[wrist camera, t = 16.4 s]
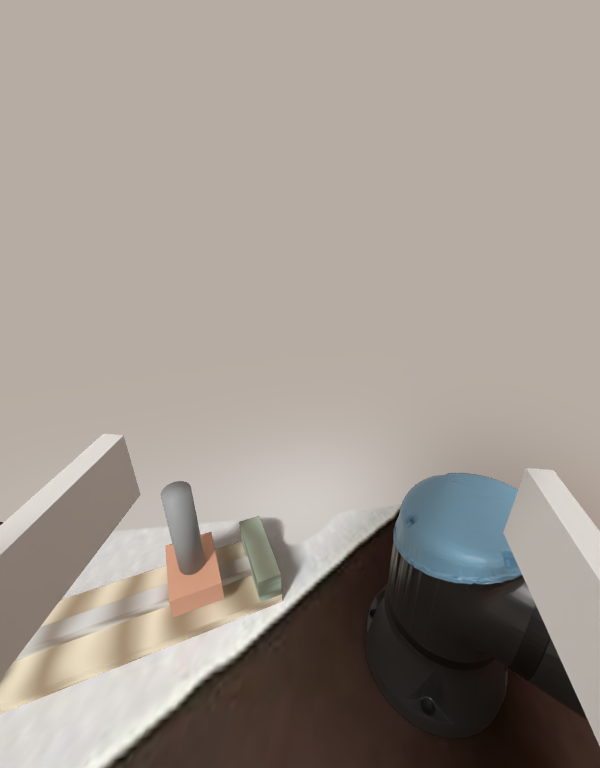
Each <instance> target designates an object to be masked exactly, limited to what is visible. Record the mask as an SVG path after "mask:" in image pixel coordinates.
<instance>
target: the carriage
mask: <svg viewBox="0 0 600 768" xmlns="http://www.w3.org/2000/svg"><path fill="white" fill-rule="evenodd" d="M161 499H162V503H163V507H164V511H165V515H166V519H167V523H168V527H169V531H170V535H171V539H172V543H173V544H170V545H167V546H165V547H166V563H167V579H168V595H169V604H170V607H171V611H172V614H173V617H176V616H179V615H181V614H184V613H187V612H189V611H192V610H195V609H197V608H200V607H203V606H205V605H208V604H211V603H213V602H216V601H219V600H221V599H224V593H223V588H222V582H221V577H220V572H219V567H218V563H217V558H216V553H215V548H214V543H213V539H212V534H211V532H209V533H205V534H202V535H200V531H199V526H198V521H197V516H196V511H195V506H194V501H193V496H192V491H191V486H190V485H189V484H188V483H187V482H182V481H178V482H173V483H171V484H169V485H167V486H166V487H165V488H164V489H163V490H162V492H161Z"/></svg>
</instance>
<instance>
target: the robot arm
mask: <svg viewBox="0 0 600 768" xmlns="http://www.w3.org/2000/svg"><path fill="white" fill-rule="evenodd" d="M139 496H140V492H139V488H138V485H137V482H136V478H135V475H134V471H133V467H132V464H131V460H130V457H129V453H128V450H127V446H126V443H125V439H124V436H123V435H111V434H103V435H102V436H101V437H99V438H98V439H97V440H96V441H95V442H94V443H93V444H92V445H90V446H89V447H88V448H87V449H86V450H85V451H84V452H83V453H81V454H80V455H79V456H78V457H77V458H76V459H75V460H74V461H72V462H71V463H70V464H69V465H68V466H67V467H66V468H65V469H63V470H62V471H61V472H60V473H59V474H58V475H57V476H56V477H54V478H53V479H52V480H51V481H50V482H49V483H48V484H47V485H46V486H44V487H43V488H42V489H41V490H40V491H39V492H38V493H37V494H35V495H34V496H33V497H32V498H31V499H30V500H29V501H28V502H26V503H25V504H24V505H23V506H22V507H21V508H20V509H18V510H17V511H16V512H15V513H14V514H13V515H12V516H11V517H9V518H8V519H7V520H6V521H5V522H4V523H3V522H0V679H1V678H2V677H3V675H4V674H5V673H6V671H7V670H8V669H9V667H10V666H11V665H12V664H13V662H14V661H15V660H16V658H17V657H18V656H19V654H20V653H21V652H22V650H23V649H24V648H25V646H26V645H27V644H28V642H29V641H30V640H31V638H32V637H33V636H34V634H35V633H36V632H37V631H38V629H39V628H40V627H41V625H42V624H43V623H44V621H45V620H46V619H47V617H48V616H49V615H50V613H51V612H52V611H53V609H54V608H55V607H56V605H57V604H58V603H59V601H60V600H61V599H62V597H63V596H64V595H65V594H66V592H67V591H68V590H69V588H70V587H71V586H72V584H73V583H74V582H75V580H76V579H77V578H78V576H79V575H80V574H81V572H82V571H83V570H84V568H85V567H86V566H87V564H88V563H89V562H90V561H91V559H92V558H93V557H94V555H95V554H96V553H97V551H98V550H99V549H100V547H101V546H102V545H103V543H104V542H105V541H106V539H107V538H108V537H109V535H110V534H111V533H112V531H113V530H114V529H115V527H116V526H117V525H118V524H119V522H120V521H121V520H122V518H123V517H124V516H125V514H126V513H127V512H128V510H129V509H130V508H131V506H132V505H133V504H134V502H135V501H136V500H137V498H138V497H139ZM393 539H394V542H393V549H392V556H391V563H390V570H389V577H388V582H387V584H386V585H385V586H384V587H383V588H382V589H381V590H380V592H379V593H378V594H377V595H376V597H375V598H374V600H373V601H372V603H371V606H370V608H369V611H368V614H367V618H366V625H365V634H364V645H365V653H366V658H367V662H368V665H369V668H370V671H371V674H372V676H373V678H374V680H375V682H376V684H377V686H378V688H379V689H380V691H381V692H382V694H383V695H384V697H385V698H386V699H387V701H388V702H389V703H390V704H391V705H392V707H393V708H394V709H395V710H396V711H397V712H398V713H399V714H401V715H402V716H403V717H404V718H405V719H407V720H408V721H409V722H411V723H412V724H413V725H415V726H417V727H418V728H420V729H422V730H424V731H426V732H428V733H431V734H434V735H437V736H440V737H445V738H456V739H457V738H466V737H470V736H473V735H476V734H478V733H480V732H482V731H483V730H484V729H486V728H487V727H488V726H489V725H490V724H491V723H492V722H493V720H494V719H495V717H496V716H497V714H498V712H499V710H500V708H501V706H502V704H503V702H504V699H505V696H506V691H507V685H508V668H509V669H511V670H512V671H514V672H515V673H517V674H518V675H520V676H521V677H523V678H524V679H526V680H527V681H529V682H530V683H532V684H533V685H535V686H536V687H538V688H539V689H541V690H542V691H544V692H545V693H547V694H548V695H550V696H551V697H553V698H554V699H556V700H557V701H559V702H560V703H562V704H563V705H565V706H566V707H568V708H569V709H571V710H572V711H574V712H575V713H577V714H578V715H580V716H581V717H583V718H584V719H586V720H587V721H589V724H590V726H591V728H592V730H593V732H594V735H595V737H596V739H597V741H598V743H599V746H600V531H599V530H598V528H597V527H596V526H595V524H594V523H593V522H592V520H591V519H590V518H589V516H588V515H587V514H586V512H585V511H584V510H583V508H582V507H581V506H580V505H579V503H578V502H577V500H576V499H575V498H574V496H573V495H572V494H571V492H570V491H569V490H568V489H567V487H566V486H565V485H564V483H563V482H562V481H561V479H560V478H559V477H558V475H557V474H556V473H555V471H554V470H544V469H533V468H526V470H525V472H524V475H523V478H522V481H521V484H520V486H519V489H516V488H514V487H512V486H510V485H508V484H506V483H504V482H501V481H498V480H496V479H493V478H489V477H486V476H481V475H476V474H468V473H448V474H446V475H442V476H433V477H430V478H427V479H425V480H423V481H421V482H419V483H418V484H416V485H415V486H414V487H413V488H412V489H411V490H410V491H409V492H408V494H407V495H406V496H405V498H404V500H403V502H402V505H401V509H400V513H399V517H398V519H397V521H396V523H395V528H394V537H393ZM507 667H508V668H507Z"/></svg>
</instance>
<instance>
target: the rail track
mask: <svg viewBox="0 0 600 768" xmlns="http://www.w3.org/2000/svg"><path fill="white" fill-rule="evenodd" d="M239 524H240V532H241V540H242V541H240V542H237V543H234V544H231V545H228V546H225V547H222V548H219V549H216V550H215V553H216V558H217V563H218V567H219V572H220V577H221V582H222V588H223V593H224V599H221V600H219V601H216V602H213V603H211V604H208V605H205V606H203V607H200V608H197V609H195V610H192V611H189V612H187V613H184V614H181V615H179V616H176V617H173V614H172V611H171V607H170V604H169V595H168V579H167V566H164V567H161V568H158V569H155V570H151V571H148V572H145V573H142V574H139V575H136V576H133V577H130V578H127V579H124V580H121V581H118V582H115V583H112V584H109V585H106V586H103V587H99V588H96V589H93V590H90V591H87V592H84V593H81V594H78V595H75V596H72V597H69V598H66V599H63V600H60V601H59V603H58V604H57V605H56V607H55V608H54V609H53V611H52V612H51V613H50V615H49V616H48V617H47V619H46V620H45V621H44V623H43V624H42V625H41V627H40V628H39V629H38V631H37V632H36V633H35V634H34V636H33V637H32V638H31V640H30V641H29V642H28V644H27V645H26V646H25V648H24V649H23V650H22V652H21V653H20V654H19V656H18V657H17V658H16V660H15V661H14V662H13V664H12V665H11V666H10V667H9V669H8V670H7V671H6V673H5V674H4V675H3V677H2V678H1V679H0V714H1V713H4V712H6V711H9V710H11V709H14V708H16V707H19V706H21V705H24V704H26V703H29V702H31V701H34V700H36V699H39V698H41V697H44V696H46V695H49V694H51V693H54V692H56V691H59V690H61V689H64V688H66V687H69V686H71V685H74V684H76V683H79V682H81V681H84V680H86V679H89V678H91V677H94V676H96V675H99V674H101V673H104V672H106V671H109V670H111V669H114V668H116V667H119V666H121V665H124V664H126V663H129V662H131V661H134V660H136V659H139V658H141V657H144V656H146V655H149V654H151V653H154V652H156V651H159V650H161V649H164V648H166V647H169V646H171V645H174V644H176V643H179V642H181V641H184V640H186V639H189V638H191V637H194V636H196V635H199V634H201V633H204V632H206V631H209V630H211V629H214V628H217V627H219V626H222V625H224V624H227V623H229V622H232V621H234V620H237V619H239V618H242V617H244V616H247V615H249V614H252V613H254V612H257V611H259V610H262V609H264V608H267V607H269V606H272V605H274V604H277V603H279V602H282V584H281V573H280V570H279V567H278V565H277V562H276V559H275V557H274V554H273V551H272V549H271V546H270V543H269V541H268V538H267V536H266V533H265V530H264V528H263V525H262V522H261V520H260V517H259V516H257V517H254V518H251V519H248V520H244V521H241V522H239Z"/></svg>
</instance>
